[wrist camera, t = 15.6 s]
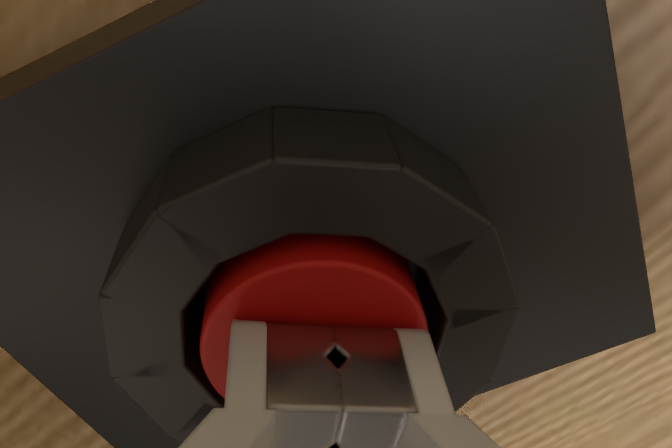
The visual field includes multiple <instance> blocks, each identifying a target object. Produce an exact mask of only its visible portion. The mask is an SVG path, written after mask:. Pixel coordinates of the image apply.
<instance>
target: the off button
mask: <svg viewBox="0 0 672 448" xmlns="http://www.w3.org/2000/svg"><path fill="white" fill-rule="evenodd" d="M233 319H235V320H248V321H260V322H266V324H267V321H271V322H284V323H297V324H311V325H324V326H348V327H372V328H391V329H394V328H404V329H425V330H426V331H427V332H428V325H427V319H426V316H425V313H424V310H423V307H422V304H421V301H420V298H419V295H418V291H417V288H416V285H415V282H414V279H413V276H412V273H411V270H410V267H409V264H408V260H407V259H405V258H404V257H402V256H400V255H398V254H397V253H395V252H393V251H391V250H390V249H388V248H386V247H384V246H383V245H381V244H379V243H377V242H376V241H374V240H372V239H370V238H369V237H356V236H333V235H309V234H289V235H287V236H284V237H282V238H279V239H277V240H275V241H272V242H270V243H267V244H265V245H263V246H260V247H258V248H255V249H253V250H251V251H248V252H246V253H243V254H241V255H239V256H236V257H234V258H231V259H229V260H227V261H224V262H222V263H220V264H219V265H218V266H217V268H216V269H215V270H214V271H213V273H212V274H211V275H210V277H209V279H208V286H207V294H206V301H205V308H204V315H203V322H202V329H201V336H200V357H201V362H202V365H203V368H204V371H205V373H206V375H207V377H208V379H209V381H210V383H211V384H212V385H213V387H214V388H215V390H216V391H217V392H218V393H219V394H220V395H221V396H222V397H223V398H224V399H225V392H226V380H227V368H228V356H229V345H230V333H231V325H232V321H233Z"/></svg>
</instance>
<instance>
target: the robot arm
mask: <svg viewBox="0 0 672 448" xmlns="http://www.w3.org/2000/svg"><path fill="white" fill-rule="evenodd" d="M178 448H500V447H499V446H498V445H497V444H496V443H495V442H494V441H493V440H492V439H491V438H490V437H489V436H488V435H486V434H485V433H484V432H483V431H482V430H481V429H480V428H479V427H478V426H477V425H476V424H475V423H474V422H472V421H471V420H470V419H469V418H468V417H467V416H466V415H456V414H455V411H454V408H453V404H452V401H451V398H450V395H449V392H448V389H447V386H446V383H445V380H444V377H443V374H442V371H441V368H440V364H439V361H438V358H437V355H436V352H435V349H434V346H433V343H432V340H431V337H430V334H429V333H428V332H427V331H426V330H425V329H404V328H394V329H391V328H372V327H348V326H324V325H311V324H297V323H284V322H271V321H267V324H266V322H260V321H248V320H235V319H233V321H232V325H231V333H230V345H229V356H228V368H227V380H226V392H225V404H224V408H213V409H212V410H211V411H210V413H209V414H208V415H207V416H206V417H205V418H204V419H203V420H202V421H201V423H200V424H199V425H198V426H197V427H196V428H195V429H194V430H193V431H192V433H191V434H190V435H189V436H188V437H187V438H186V439H185V440H184V442H183V443H182V444H181V445H180V446H179V447H178Z"/></svg>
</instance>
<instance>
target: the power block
mask: <svg viewBox="0 0 672 448" xmlns="http://www.w3.org/2000/svg"><path fill="white" fill-rule="evenodd" d="M289 234H309V235H333V236H356V237H369V238H370V239H372V240H374V241H376V242H377V243H379V244H381V245H383V246H384V247H386V248H388V249H390V250H391V251H393V252H395V253H397V254H398V255H400V256H402V257H404V258H405V259H407V260H408V264H409V267H410V270H411V273H412V276H413V279H414V282H415V285H416V288H417V291H418V295H419V298H420V301H421V304H422V307H423V310H424V313H425V316H426V319H427V325H428V333H429V334H430V337H431V340H432V343H433V346H434V349H435V352H436V355H437V358H438V361H439V364H440V368H441V371H442V374H443V377H444V380H445V383H446V386H447V389H448V392H449V395H450V398H451V401H452V404H453V408H454V411H455V412H456V411H457V410H458V409H459V408H461V407H462V406H463V405H464V404H465V403H466V402H468V401H469V400H470V399H471V398H472V397H474V396H476V395H478V394H481V393H484V392H487V391H490V390H493V389H496V388H498V387H501V386H504V385H507V384H510V383H513V382H515V381H518V380H521V379H524V378H527V377H530V376H533V375H535V374H538V373H541V372H544V371H547V370H550V369H552V368H555V367H558V366H561V365H564V364H567V363H570V362H572V361H575V360H578V359H581V358H584V357H587V356H589V355H592V354H595V353H598V352H601V351H604V350H607V349H609V348H612V347H615V346H618V345H621V344H624V343H627V342H629V341H632V340H635V339H638V338H641V337H644V336H646V335H649V334H652V333H655V332H656V329H655V323H654V316H653V309H652V303H651V296H650V290H649V283H648V277H647V270H646V263H645V257H644V250H643V244H642V237H641V231H640V224H639V217H638V211H637V204H636V198H635V191H634V185H633V178H632V171H631V165H630V158H629V152H628V145H627V139H626V132H625V125H624V119H623V112H622V106H621V99H620V93H619V86H618V79H617V73H616V66H615V60H614V53H613V46H612V40H611V33H610V27H609V20H608V14H607V7H606V0H156V1H154V2H152V3H150V4H148V5H146V6H144V7H142V8H140V9H138V10H136V11H134V12H132V13H130V14H128V15H126V16H124V17H122V18H120V19H118V20H116V21H114V22H112V23H110V24H108V25H106V26H104V27H102V28H100V29H98V30H96V31H94V32H92V33H90V34H88V35H86V36H84V37H82V38H80V39H78V40H76V41H74V42H72V43H70V44H68V45H66V46H64V47H62V48H60V49H58V50H56V51H54V52H52V53H50V54H48V55H46V56H44V57H42V58H40V59H38V60H36V61H34V62H32V63H30V64H28V65H26V66H24V67H22V68H20V69H18V70H16V71H14V72H12V73H10V74H8V75H6V76H4V77H2V78H0V346H1V347H2V348H3V349H4V350H5V351H7V352H8V353H9V354H10V355H11V356H12V357H13V358H14V359H16V360H17V361H18V362H19V363H20V364H21V365H22V366H23V367H25V368H26V369H27V370H28V371H29V372H30V373H31V374H32V375H33V376H35V377H36V378H37V379H38V380H39V381H40V382H41V383H42V384H44V385H45V386H46V387H47V388H48V389H49V390H50V391H51V392H53V393H54V394H55V395H56V396H57V397H58V398H59V399H60V400H62V401H63V402H64V403H65V404H66V405H67V406H68V407H69V408H71V409H72V410H73V411H74V412H75V413H76V414H77V415H78V416H80V417H81V418H82V419H83V420H84V421H85V422H86V423H87V424H89V425H90V426H91V427H92V428H93V429H94V430H95V431H96V432H97V433H99V434H100V435H101V436H102V437H103V438H104V439H105V440H106V441H108V442H109V443H110V444H111V445H112V446H113V447H114V448H178V447H179V446H180V445H181V444H182V443H183V442H184V440H185V439H186V438H187V437H188V436H189V435H190V434H191V433H192V431H193V430H194V429H195V428H196V427H197V426H198V425H199V424H200V423H201V421H202V420H203V419H204V418H205V417H206V416H207V415H208V414H209V413H210V411H211V410H212V409H213V408H224V404H225V399H224V398H223V397H222V396H221V395H220V394H219V393H218V392H217V391H216V390H215V388H214V387H213V385H212V384H211V383H210V381H209V379H208V377H207V375H206V373H205V371H204V368H203V365H202V362H201V357H200V336H201V329H202V322H203V315H204V308H205V301H206V294H207V286H208V279H209V277H210V275H211V274H212V273H213V271H214V270H215V269H216V268H217V266H218V265H219V264H220V263H222V262H224V261H227V260H229V259H231V258H234V257H236V256H239V255H241V254H243V253H246V252H248V251H251V250H253V249H255V248H258V247H260V246H263V245H265V244H267V243H270V242H272V241H275V240H277V239H279V238H282V237H284V236H287V235H289Z"/></svg>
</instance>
